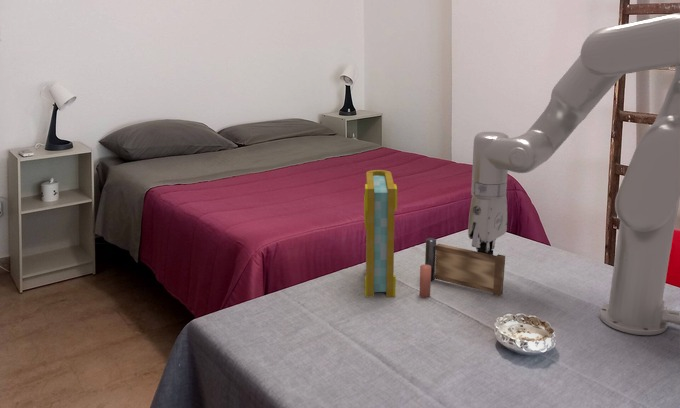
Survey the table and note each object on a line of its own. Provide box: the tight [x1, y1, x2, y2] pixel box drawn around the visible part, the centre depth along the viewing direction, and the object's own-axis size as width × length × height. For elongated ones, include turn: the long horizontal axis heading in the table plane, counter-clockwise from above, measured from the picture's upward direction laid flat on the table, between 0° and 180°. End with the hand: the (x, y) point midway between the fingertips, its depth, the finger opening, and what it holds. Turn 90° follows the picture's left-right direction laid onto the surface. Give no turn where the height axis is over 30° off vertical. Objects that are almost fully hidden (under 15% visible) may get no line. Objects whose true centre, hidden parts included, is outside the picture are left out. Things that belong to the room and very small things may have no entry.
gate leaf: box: [435, 243, 506, 297], centre depth 140 cm, size 16×2×9 cm, turn 55°
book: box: [363, 169, 398, 298], centre depth 142 cm, size 17×7×25 cm, turn 179°
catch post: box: [418, 263, 432, 299], centre depth 137 cm, size 2×2×7 cm
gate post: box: [424, 237, 437, 282], centre depth 145 cm, size 2×2×10 cm
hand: (484, 265), depth 141 cm, fingers closed
